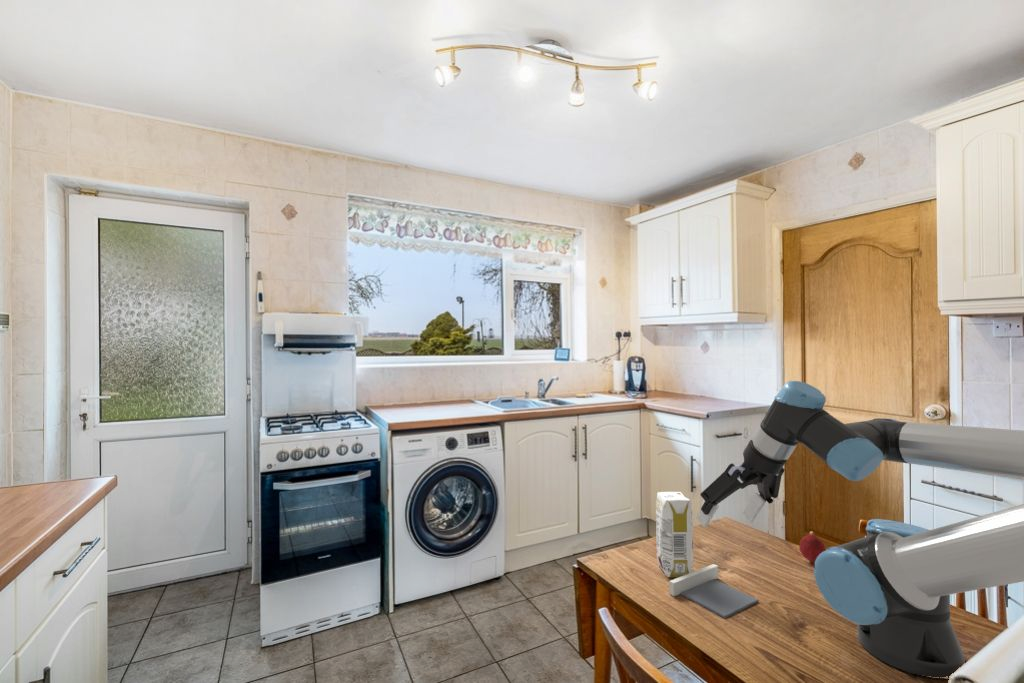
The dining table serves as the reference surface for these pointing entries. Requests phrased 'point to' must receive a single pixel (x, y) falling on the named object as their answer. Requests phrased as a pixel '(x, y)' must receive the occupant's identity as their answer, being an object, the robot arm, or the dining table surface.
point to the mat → (719, 598)
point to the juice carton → (674, 533)
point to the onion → (811, 547)
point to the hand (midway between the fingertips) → (724, 519)
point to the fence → (693, 579)
